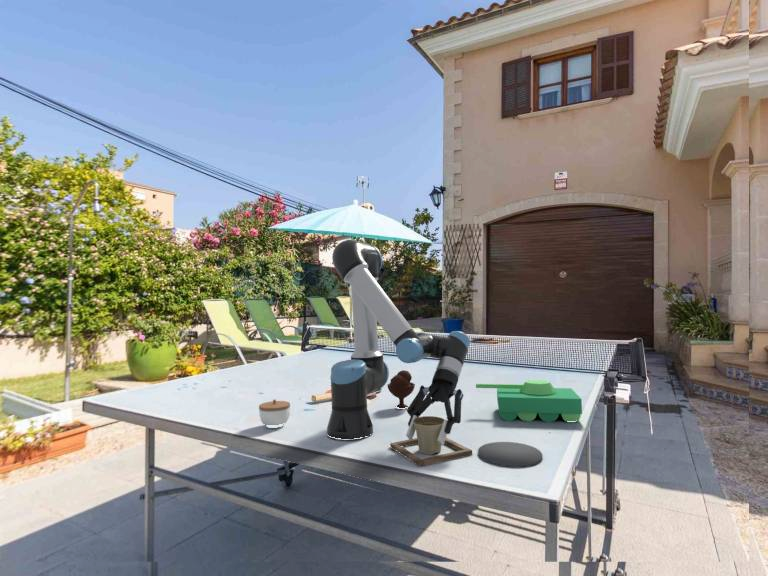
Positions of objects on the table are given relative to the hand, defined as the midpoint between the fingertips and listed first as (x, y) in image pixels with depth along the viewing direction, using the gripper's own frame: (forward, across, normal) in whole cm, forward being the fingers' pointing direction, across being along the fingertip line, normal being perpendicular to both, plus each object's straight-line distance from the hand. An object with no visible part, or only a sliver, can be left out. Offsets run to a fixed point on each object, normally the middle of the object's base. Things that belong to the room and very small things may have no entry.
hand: (424, 440), depth 121 cm
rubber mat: (-5, -21, -10) cm, 24 cm away
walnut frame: (+1, 0, -5) cm, 5 cm away
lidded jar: (+4, +60, -2) cm, 60 cm away
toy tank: (-35, -13, -41) cm, 55 cm away
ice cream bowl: (-26, +33, -32) cm, 52 cm away
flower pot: (+1, 0, -5) cm, 5 cm away
